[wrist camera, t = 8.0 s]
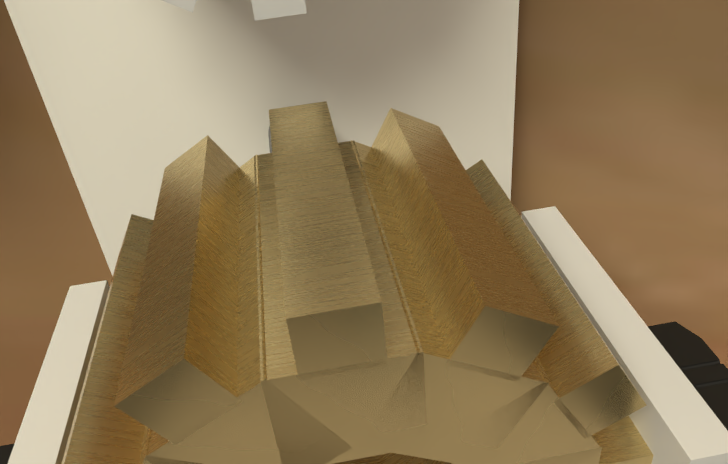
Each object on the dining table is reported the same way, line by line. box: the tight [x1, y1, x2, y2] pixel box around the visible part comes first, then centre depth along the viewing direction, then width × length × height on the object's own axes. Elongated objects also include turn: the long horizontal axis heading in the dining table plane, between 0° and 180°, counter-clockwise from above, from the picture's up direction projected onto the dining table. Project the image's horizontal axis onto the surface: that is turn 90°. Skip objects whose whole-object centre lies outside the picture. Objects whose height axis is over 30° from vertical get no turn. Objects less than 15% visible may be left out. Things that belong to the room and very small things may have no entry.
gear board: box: [4, 0, 519, 276], centre depth 16 cm, size 21×15×10 cm
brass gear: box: [62, 101, 654, 464], centre depth 12 cm, size 9×9×6 cm
